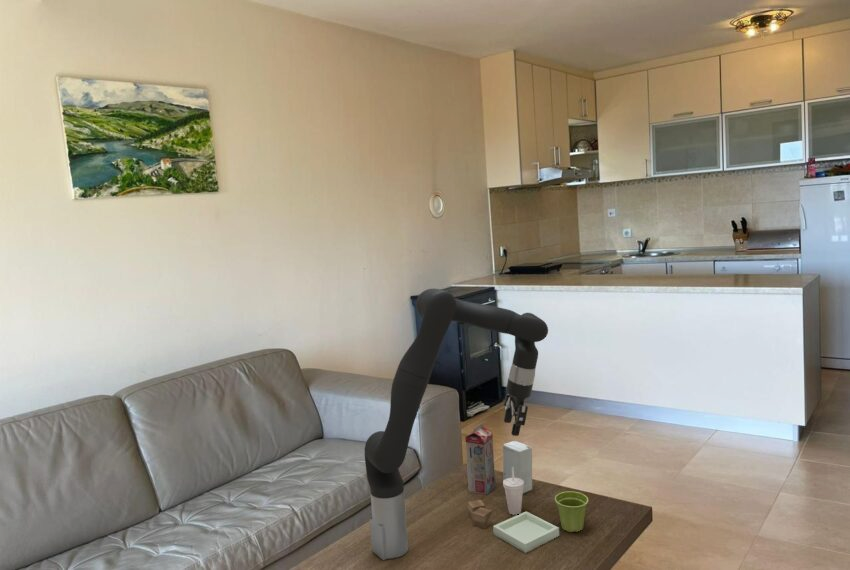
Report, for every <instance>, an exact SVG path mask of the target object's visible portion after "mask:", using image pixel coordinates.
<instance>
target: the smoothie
mask: <svg viewBox="0 0 850 570" xmlns="http://www.w3.org/2000/svg"><path fill="white" fill-rule="evenodd" d="M502 486H503V487H504V492H505V498H506V499H505V500H506V503H507V510H508V513H509V514H510V515H511V514H512V516H517V514H521V513H522V503H523V494H524V493H523V487H524V481H523V480H522V479H520V478H514V467H512V478H507V479H505V480H504V481H503V482H502Z"/></svg>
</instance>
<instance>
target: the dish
mask: <svg viewBox="0 0 850 570" xmlns="http://www.w3.org/2000/svg"><path fill="white" fill-rule="evenodd" d="M492 528H493V529H492V531H493V535H494V536H495V537H497V538H499V539H500V540H502V541H505V542H506V543H508V544H509V545H511V546H513V547H515V548H516V549H519V550H520V551H522V553H525V554H527V553H529V552H531V551H532V550H534V549H537V548H539V547H540V545H541V546H542V544H543V545H544V544H546V543H549V542H551V541H553V540H554V538H555V539H557V538H559V537H560V527H559V526H556V525H554V524H552V523H550V522H549V521H546V520H544V519H543V518H540V517H539V516H536V515H534V514H532V513H531V512H528V511H525V512H521V513H520V514H519V515H513V516H512V517H511V518H508V519H506V520H504V521H501V522H499V523H497V524H495V525H493V527H492ZM558 536H559V537H558ZM556 537H557V538H556ZM548 541H549V542H548Z"/></svg>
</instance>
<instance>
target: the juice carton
mask: <svg viewBox="0 0 850 570" xmlns="http://www.w3.org/2000/svg"><path fill="white" fill-rule="evenodd" d="M493 439H494V438H493V432H492V431H491V430H489V429H488V428H486V426H484V421H482V422H480V423H478V425H476V426H475V427H474V428H473V431H471V432H470V433H469V434H468V435H466V436H465V451H466V452H465V453H466V454H465V455H466V467H467V468H466V469H467V484H468V485H467V486H468V492H469V493H474V494H475V493H476V494H481V495H488V494H489V493H490V492H492V490H493V489H494V488H495V487H496V479H495V477H496V476H495V475H496V474H495V459H494V457H495V456H494V454H495V453H494V440H493Z"/></svg>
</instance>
